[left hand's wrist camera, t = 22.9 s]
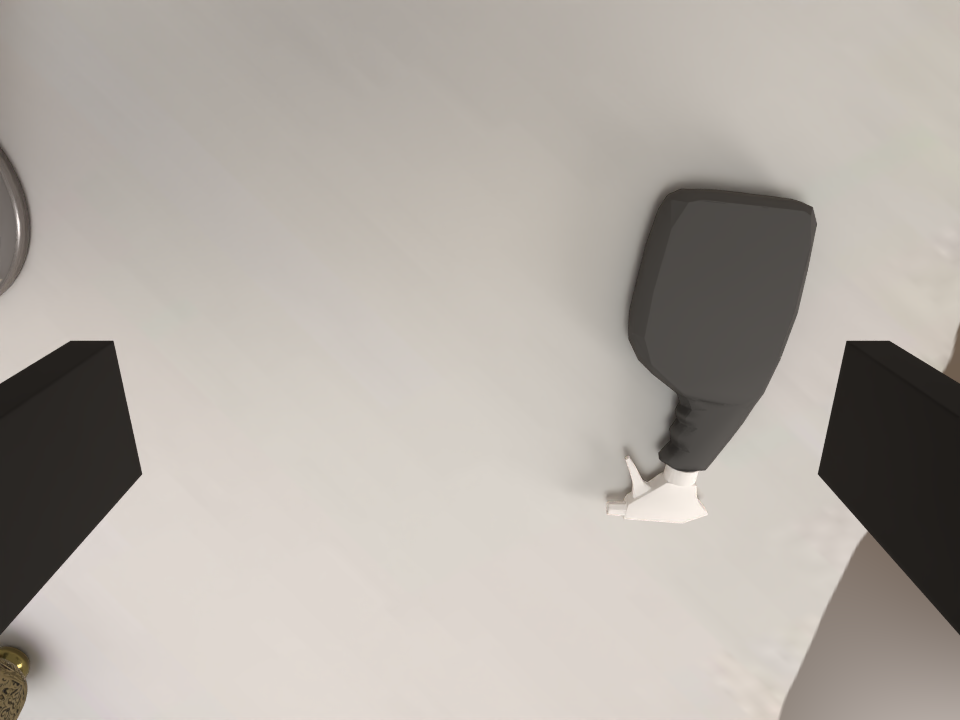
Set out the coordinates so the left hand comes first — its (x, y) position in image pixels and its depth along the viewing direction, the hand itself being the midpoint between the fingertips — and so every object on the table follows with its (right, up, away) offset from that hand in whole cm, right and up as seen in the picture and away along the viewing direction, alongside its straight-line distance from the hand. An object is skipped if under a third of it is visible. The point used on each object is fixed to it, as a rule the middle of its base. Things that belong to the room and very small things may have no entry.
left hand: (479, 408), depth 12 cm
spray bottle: (+15, +1, +36) cm, 39 cm away
